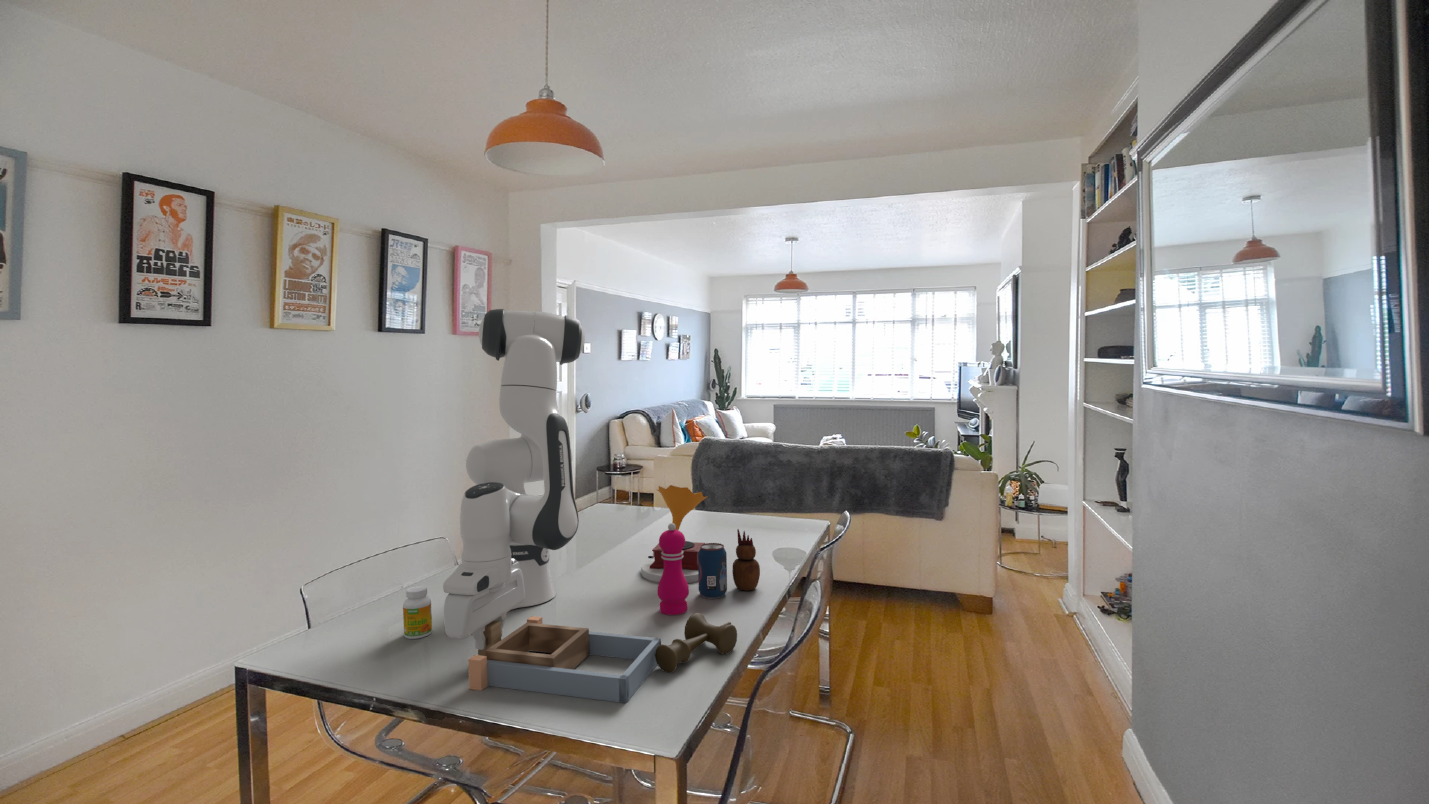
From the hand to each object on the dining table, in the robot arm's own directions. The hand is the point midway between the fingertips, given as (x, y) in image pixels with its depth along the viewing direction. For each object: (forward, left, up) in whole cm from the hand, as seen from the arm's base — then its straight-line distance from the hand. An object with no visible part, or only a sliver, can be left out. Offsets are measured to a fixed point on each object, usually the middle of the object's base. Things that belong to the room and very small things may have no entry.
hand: (489, 643), depth 122 cm
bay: (+17, 0, -4) cm, 18 cm away
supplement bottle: (-23, +8, -4) cm, 24 cm away
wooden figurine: (+38, +51, -4) cm, 64 cm away
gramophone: (+17, +61, -4) cm, 63 cm away
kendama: (+38, +13, -4) cm, 40 cm away
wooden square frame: (+8, 0, -3) cm, 9 cm away
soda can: (+31, +45, -4) cm, 55 cm away
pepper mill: (+25, +33, -4) cm, 42 cm away
